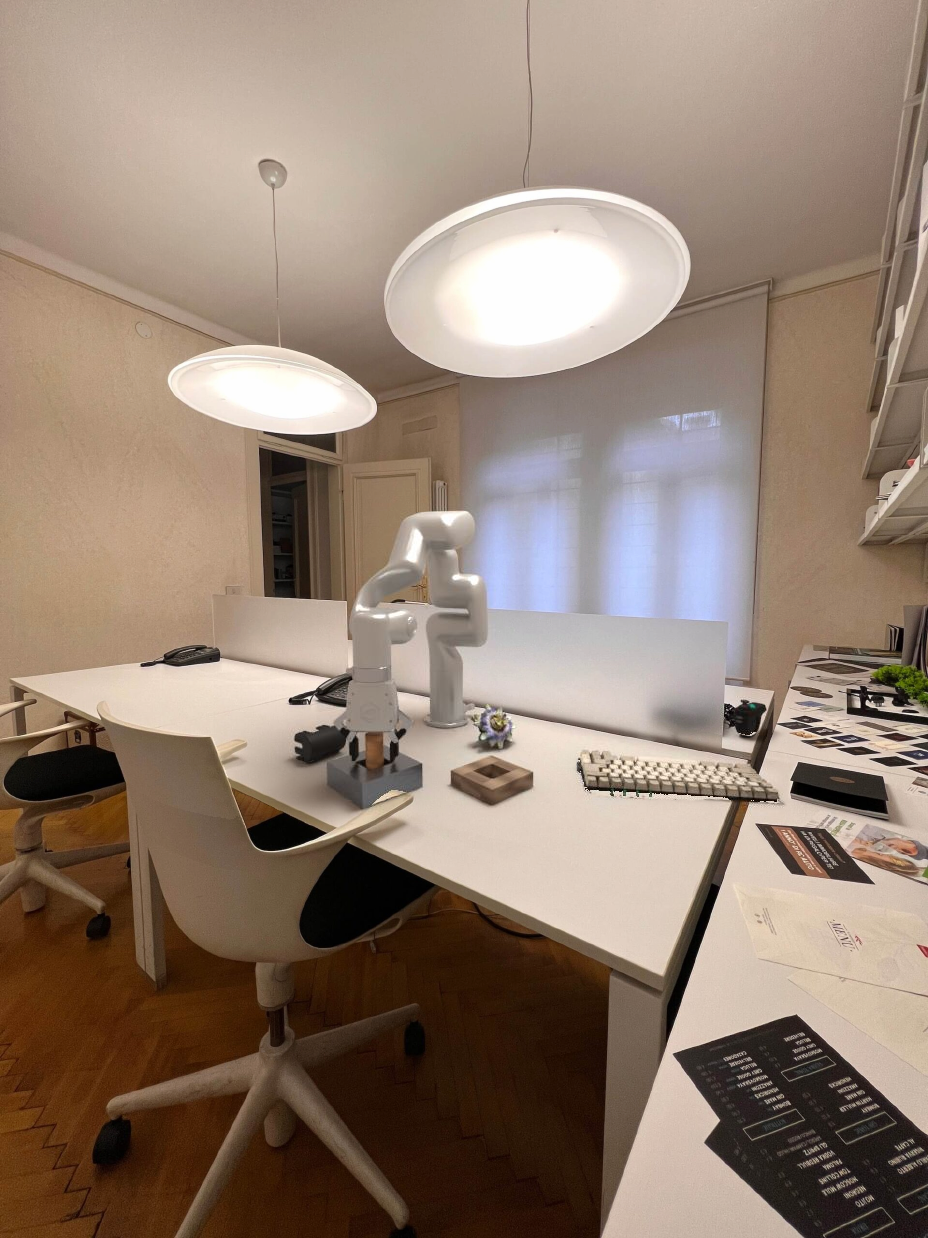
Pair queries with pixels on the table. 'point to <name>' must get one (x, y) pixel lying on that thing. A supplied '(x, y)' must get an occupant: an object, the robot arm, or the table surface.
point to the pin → (374, 750)
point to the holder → (489, 790)
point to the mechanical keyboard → (673, 777)
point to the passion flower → (494, 726)
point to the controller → (748, 717)
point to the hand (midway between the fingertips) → (374, 758)
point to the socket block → (373, 777)
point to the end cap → (318, 743)
